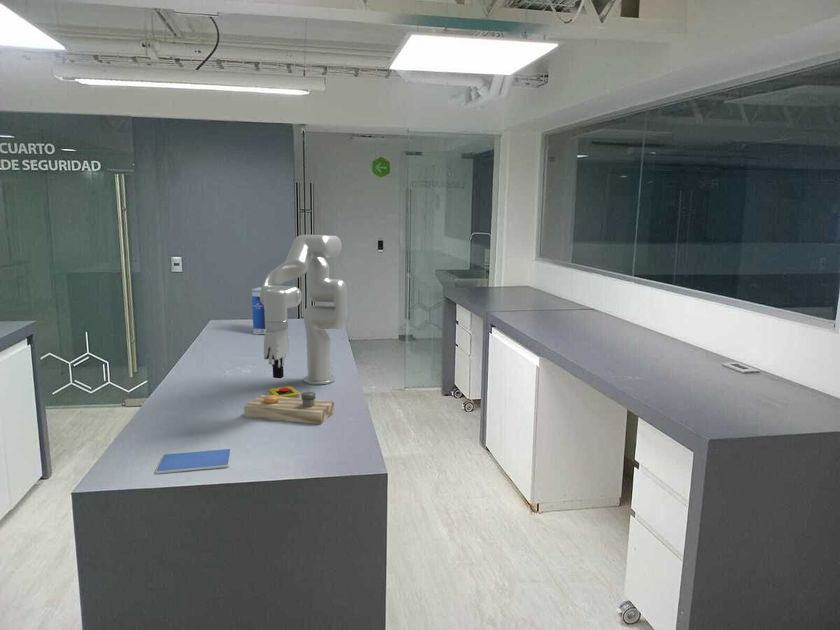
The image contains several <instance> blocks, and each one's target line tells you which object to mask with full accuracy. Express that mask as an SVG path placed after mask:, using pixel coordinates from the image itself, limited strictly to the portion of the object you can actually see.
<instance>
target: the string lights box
mask: <svg viewBox="0 0 840 630" xmlns="http://www.w3.org/2000/svg"><path fill="white" fill-rule="evenodd" d="M261 288H262V286H259V287H254V288H251V300H252V301H251V303H252V304H251V305H252V327H253V328H252V331H253V335H258V334H265V331H266V330H265V308H264V305H263V304H262V303H261V301H260V291H261Z"/></svg>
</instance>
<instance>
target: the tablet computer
mask: <svg viewBox="0 0 840 630" xmlns="http://www.w3.org/2000/svg"><path fill="white" fill-rule="evenodd" d="M232 454H233V450H232V449H231V448H224V449H212V450H204V451H203V450H201V451H200V450H199V451H190V452H189V451H188V452H179V453H178V452H177V453H166V454H163V455H162V456H161V458H160V460H159V462H158V465H157V467H156V470H155V472H154V474H155V475H162V474H163V475H164V474H170V473H171V474H173V473H182V472H193V471H204V470H214V469H215V470H216V469H227V468H230V465H231V460H232Z"/></svg>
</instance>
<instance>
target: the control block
mask: <svg viewBox="0 0 840 630" xmlns="http://www.w3.org/2000/svg"><path fill="white" fill-rule="evenodd" d="M265 396H266V395H263V394H261V395H259V396H258V397H256V398H254V399H253V400H251V401H249V402H248V403H246V404H245V405H244V406H243V407H244V418H245V417H246V418H253V419H262V420H263V419H264V420H275V421H287V422H294V423H295V422H298V423H306V424H307V423H309V424H318V425H322V424H323V423H324V422H326V420H328V419H329V417H331V416H333V415H334V413H335V401H334V400H323V399H314V406H312V407H303V400H302V399H301V397H300V398H288V397H278V402H276V403H274V404H269V403H265V402H264V397H265Z"/></svg>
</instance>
